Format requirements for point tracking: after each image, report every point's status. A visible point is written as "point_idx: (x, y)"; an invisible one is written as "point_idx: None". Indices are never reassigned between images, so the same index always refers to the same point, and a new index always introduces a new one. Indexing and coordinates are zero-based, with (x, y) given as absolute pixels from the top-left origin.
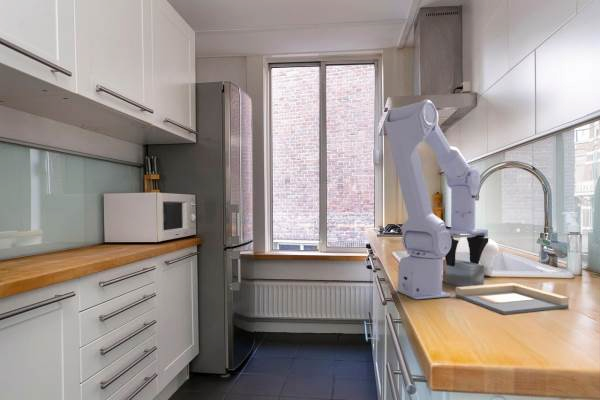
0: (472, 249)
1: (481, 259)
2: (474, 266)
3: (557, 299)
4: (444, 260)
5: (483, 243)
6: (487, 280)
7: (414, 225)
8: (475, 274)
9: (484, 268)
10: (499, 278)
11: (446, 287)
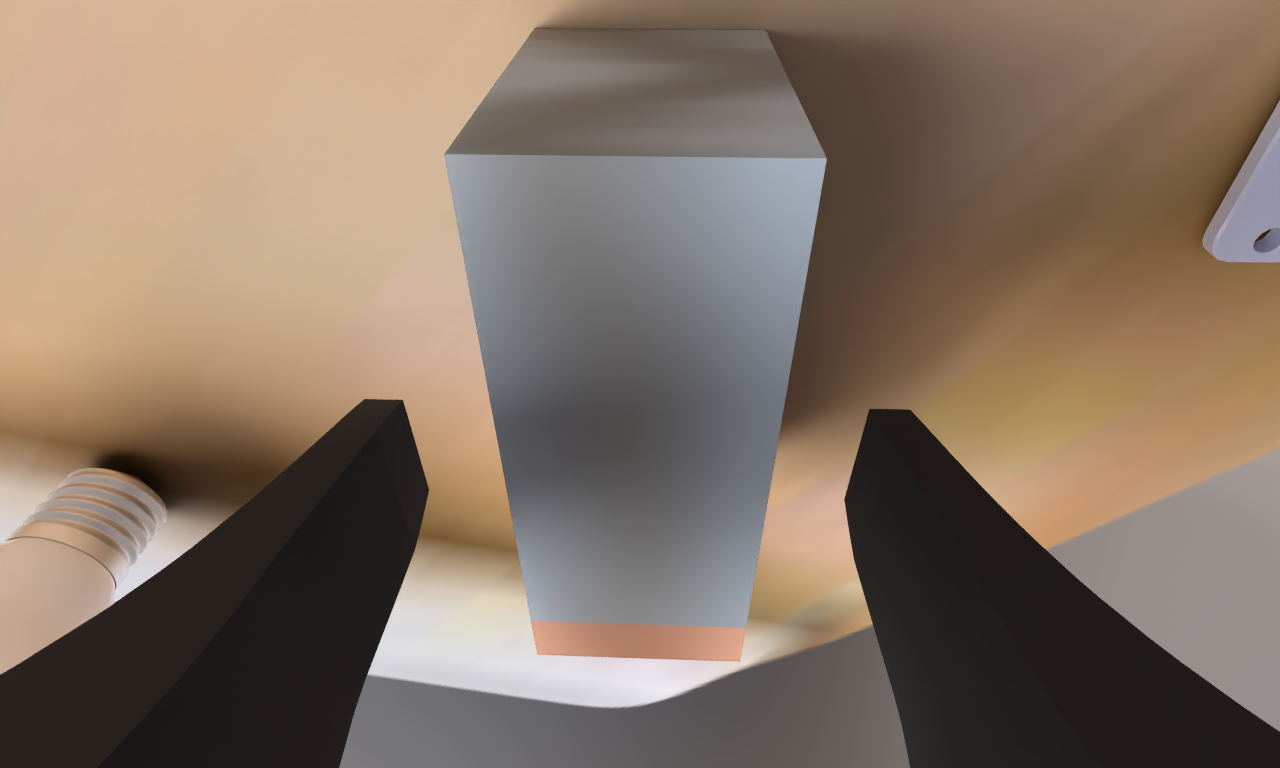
0: (321, 698)
1: None
2: (720, 150)
3: None
4: (741, 633)
5: (1, 763)
6: (208, 366)
7: None
8: (686, 95)
9: (111, 541)
10: (22, 397)
11: (927, 241)
